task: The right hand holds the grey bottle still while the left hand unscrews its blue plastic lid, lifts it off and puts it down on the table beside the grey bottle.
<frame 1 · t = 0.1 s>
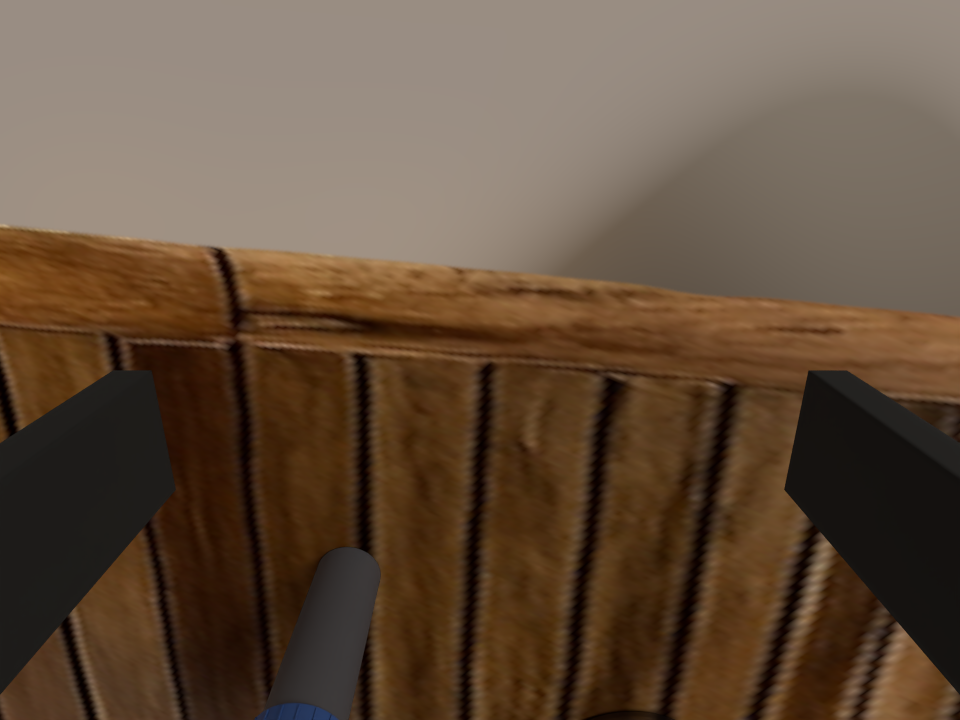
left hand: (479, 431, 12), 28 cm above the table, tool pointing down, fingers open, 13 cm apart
grey bottle: (349, 572, 48), on the table
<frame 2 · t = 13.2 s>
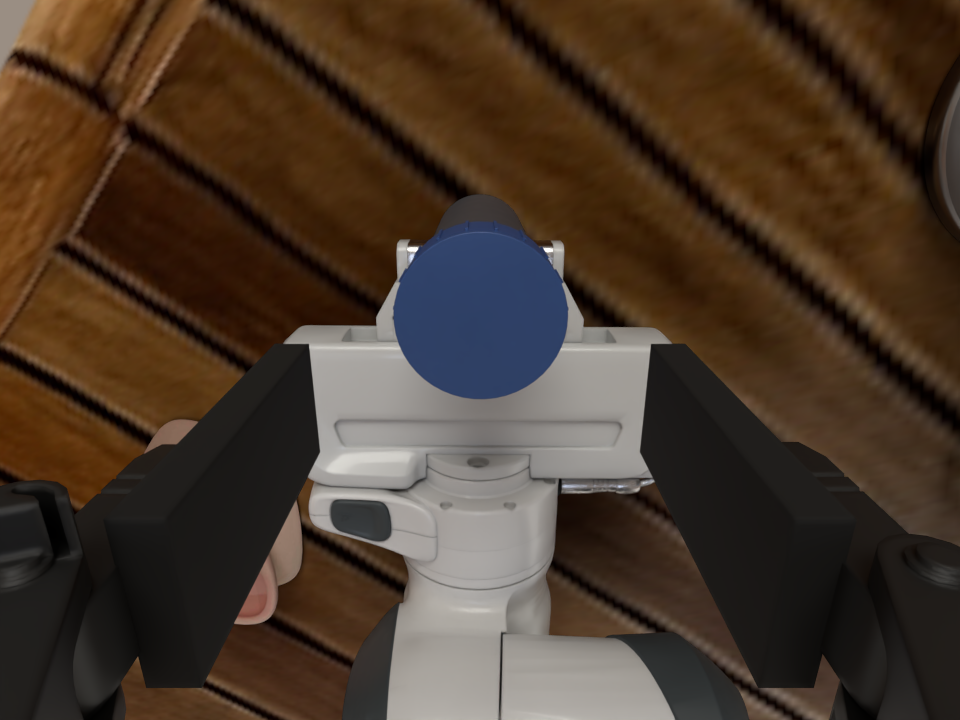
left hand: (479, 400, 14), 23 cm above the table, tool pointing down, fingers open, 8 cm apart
grey bottle: (480, 238, 35), on the table, touching right hand
lid: (480, 316, 20), point 16 cm above the table, screwed on, not yet turned
anatomical model: (221, 507, 42), on the table
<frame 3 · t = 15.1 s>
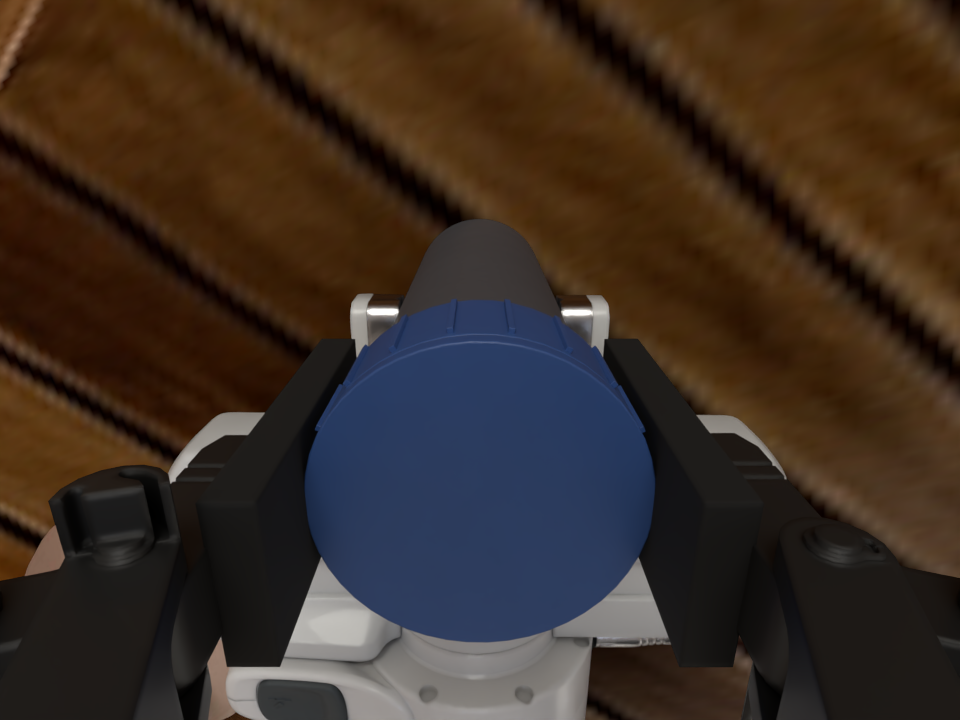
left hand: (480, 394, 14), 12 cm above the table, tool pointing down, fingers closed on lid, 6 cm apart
grey bottle: (479, 279, 25), on the table, touching right hand
lid: (479, 495, 10), point 16 cm above the table, screwed on, not yet turned, touching left hand
anatomical model: (140, 624, 32), on the table
when the left hand's fingers open (0 cm above the table, at t = 24.4 s): lid drops 2 cm, point 2 cm above the table.
when the right hand's fingers open (7 cm above the table, at t = 25.1 s): grey bottle stays where it is, on the table.
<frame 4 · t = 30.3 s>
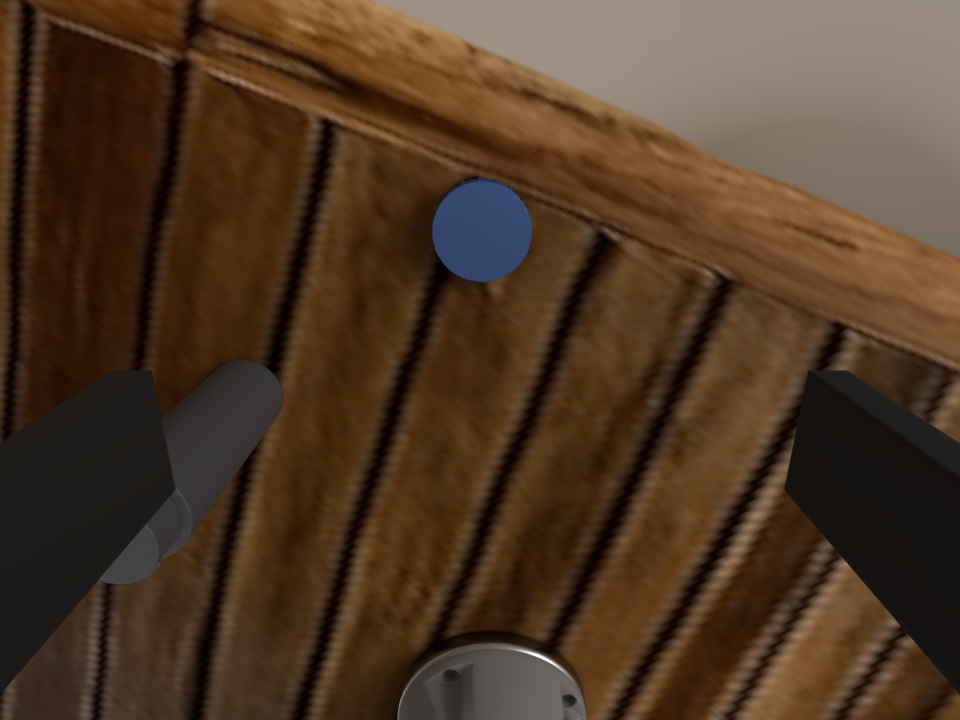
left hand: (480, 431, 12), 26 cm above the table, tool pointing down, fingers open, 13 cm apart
grey bottle: (246, 393, 41), on the table
lid: (481, 232, 35), point 2 cm above the table, off its thread
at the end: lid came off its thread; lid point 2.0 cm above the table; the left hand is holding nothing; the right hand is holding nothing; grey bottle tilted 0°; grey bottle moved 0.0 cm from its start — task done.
